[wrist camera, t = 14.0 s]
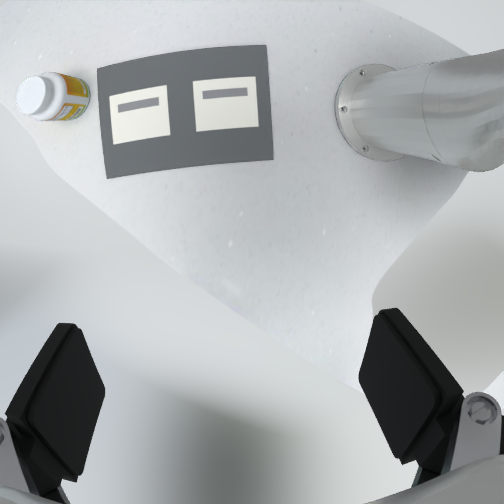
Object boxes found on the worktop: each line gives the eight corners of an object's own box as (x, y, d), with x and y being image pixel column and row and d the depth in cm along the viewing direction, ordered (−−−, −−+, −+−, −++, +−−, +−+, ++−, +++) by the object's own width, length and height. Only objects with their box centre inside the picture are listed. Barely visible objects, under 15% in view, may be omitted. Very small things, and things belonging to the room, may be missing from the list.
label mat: (266, 45, 29) (266, 44, 28) (273, 159, 34) (273, 159, 34) (97, 69, 28) (96, 68, 27) (107, 178, 33) (106, 179, 33)
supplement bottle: (61, 76, 27) (18, 67, 18) (96, 81, 28) (57, 69, 19) (50, 117, 29) (5, 119, 20) (84, 123, 30) (42, 125, 21)
